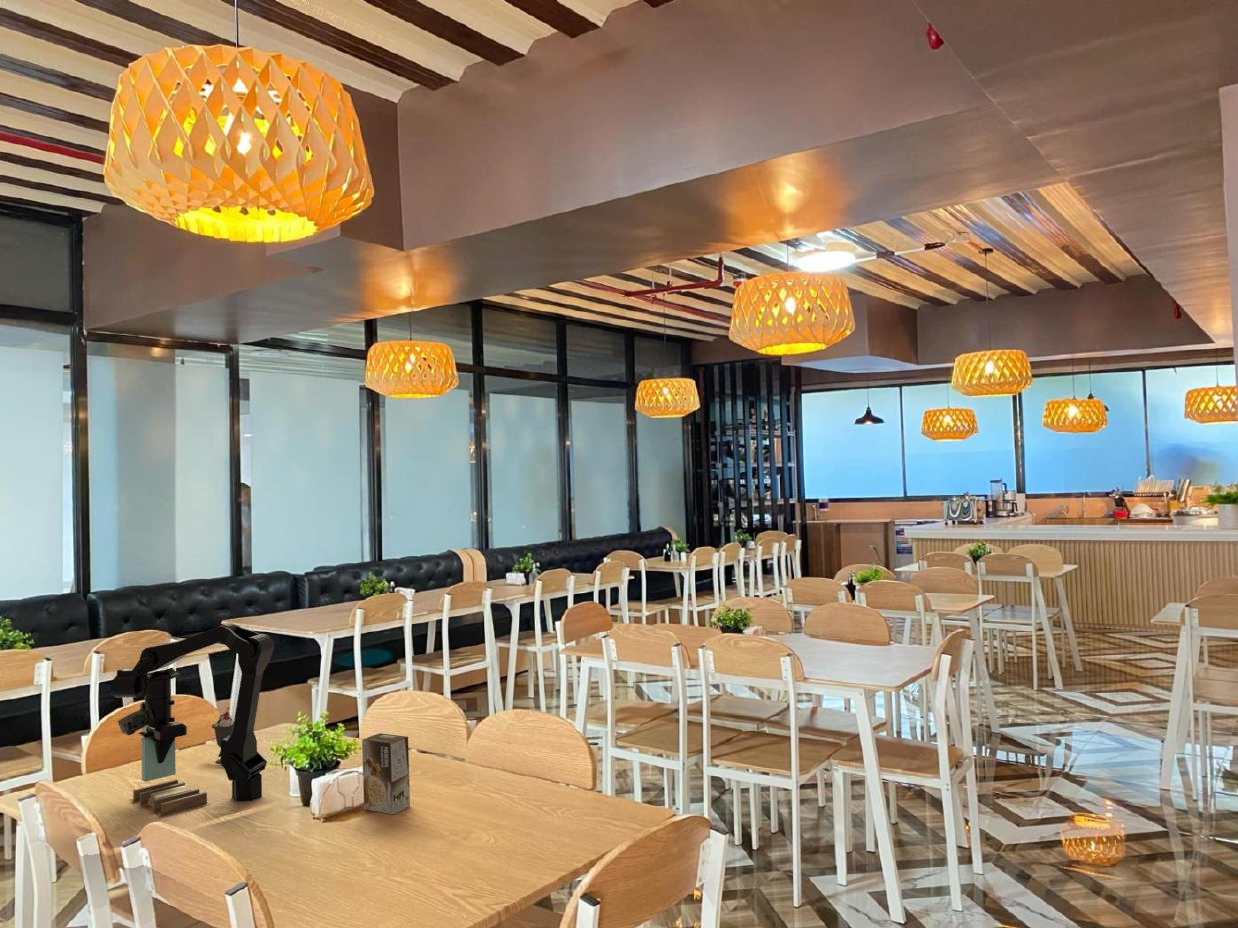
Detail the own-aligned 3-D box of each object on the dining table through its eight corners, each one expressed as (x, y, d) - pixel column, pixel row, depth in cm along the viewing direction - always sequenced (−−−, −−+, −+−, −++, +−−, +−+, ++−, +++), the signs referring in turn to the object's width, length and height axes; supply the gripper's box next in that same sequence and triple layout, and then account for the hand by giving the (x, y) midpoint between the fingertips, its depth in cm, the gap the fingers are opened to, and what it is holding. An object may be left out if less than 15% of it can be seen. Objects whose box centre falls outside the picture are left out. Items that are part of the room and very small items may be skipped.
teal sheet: (175, 774, 218) (175, 732, 218) (145, 781, 212) (144, 739, 213) (172, 772, 219) (171, 731, 219) (141, 780, 214) (141, 737, 214)
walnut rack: (212, 808, 209) (211, 793, 209) (163, 822, 201) (162, 806, 201) (176, 791, 222) (175, 777, 222) (128, 803, 214) (128, 789, 214)
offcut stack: (192, 799, 213) (192, 788, 213) (156, 808, 207) (156, 798, 207) (183, 794, 216) (183, 784, 216) (147, 804, 210) (147, 793, 210)
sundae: (231, 764, 245) (231, 708, 245) (207, 764, 245) (207, 709, 245) (242, 756, 251) (241, 703, 252) (219, 757, 251) (218, 703, 252)
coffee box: (411, 805, 206) (410, 736, 207) (392, 815, 201) (391, 743, 201) (381, 800, 211) (380, 732, 211) (362, 809, 205) (360, 739, 206)
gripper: (107, 698, 216) (108, 763, 216) (137, 708, 204) (138, 777, 203) (155, 690, 225) (156, 752, 224) (187, 699, 212) (188, 765, 212)
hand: (158, 761), depth 216 cm, fingers closed on teal sheet, 2 cm apart
